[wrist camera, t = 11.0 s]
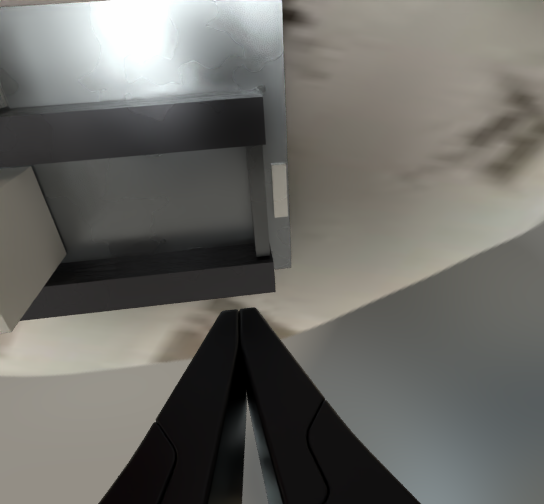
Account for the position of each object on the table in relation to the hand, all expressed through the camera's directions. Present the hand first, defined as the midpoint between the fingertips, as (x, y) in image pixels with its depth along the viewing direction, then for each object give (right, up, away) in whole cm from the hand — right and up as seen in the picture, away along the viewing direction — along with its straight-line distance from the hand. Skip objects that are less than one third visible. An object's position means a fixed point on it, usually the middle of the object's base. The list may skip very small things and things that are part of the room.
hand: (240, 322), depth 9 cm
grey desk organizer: (-7, +5, +7) cm, 11 cm away
